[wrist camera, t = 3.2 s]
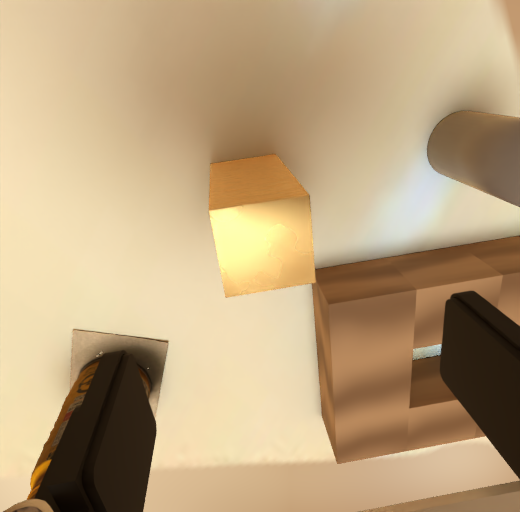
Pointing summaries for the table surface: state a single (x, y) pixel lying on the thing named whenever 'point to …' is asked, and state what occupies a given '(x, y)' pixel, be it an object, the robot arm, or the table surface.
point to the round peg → (479, 152)
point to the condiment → (83, 372)
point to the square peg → (260, 225)
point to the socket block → (400, 344)
